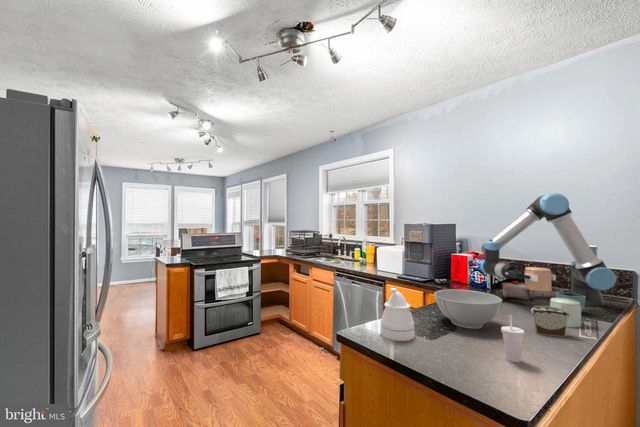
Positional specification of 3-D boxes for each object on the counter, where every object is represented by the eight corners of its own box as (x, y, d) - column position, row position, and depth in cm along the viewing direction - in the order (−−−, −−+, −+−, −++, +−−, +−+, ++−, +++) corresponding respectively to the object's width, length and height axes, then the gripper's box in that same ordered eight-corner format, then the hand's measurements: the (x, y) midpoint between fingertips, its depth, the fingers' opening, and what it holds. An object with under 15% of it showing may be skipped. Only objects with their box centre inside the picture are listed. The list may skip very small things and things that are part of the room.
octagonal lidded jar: (536, 286, 153) (535, 266, 154) (556, 290, 144) (555, 269, 144) (520, 287, 151) (520, 267, 151) (539, 291, 141) (539, 270, 141)
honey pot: (395, 343, 110) (395, 293, 110) (374, 331, 121) (374, 286, 122) (421, 337, 116) (421, 290, 116) (398, 326, 127) (398, 284, 128)
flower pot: (573, 310, 153) (573, 292, 154) (587, 315, 145) (586, 296, 145) (555, 309, 154) (554, 291, 155) (567, 314, 146) (567, 296, 146)
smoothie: (496, 355, 100) (496, 313, 100) (515, 355, 100) (514, 312, 101) (510, 364, 93) (510, 319, 94) (530, 364, 94) (529, 318, 94)
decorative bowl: (424, 324, 131) (423, 296, 131) (447, 311, 150) (446, 286, 151) (493, 340, 112) (493, 308, 113) (509, 323, 132) (508, 295, 132)
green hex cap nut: (562, 318, 139) (561, 297, 139) (586, 326, 129) (585, 302, 130) (545, 320, 136) (545, 298, 137) (568, 328, 127) (568, 304, 127)
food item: (501, 297, 181) (501, 280, 181) (504, 294, 187) (503, 278, 187) (528, 301, 171) (528, 283, 172) (530, 298, 177) (530, 281, 178)
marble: (534, 312, 148) (534, 306, 148) (540, 314, 145) (540, 308, 145) (529, 313, 147) (529, 306, 148) (535, 315, 144) (535, 308, 144)
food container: (563, 332, 122) (562, 307, 122) (569, 337, 116) (569, 311, 117) (527, 328, 126) (527, 304, 126) (532, 333, 120) (532, 308, 121)
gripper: (522, 277, 168) (564, 285, 146) (489, 278, 162) (527, 287, 140) (522, 263, 168) (564, 269, 146) (489, 264, 162) (527, 271, 140)
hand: (546, 278), depth 143 cm, fingers closed on octagonal lidded jar, 10 cm apart
